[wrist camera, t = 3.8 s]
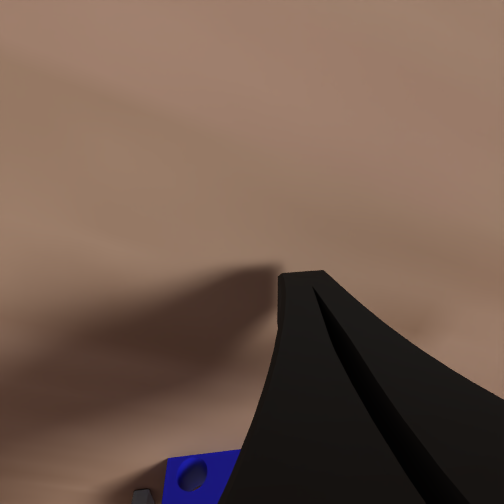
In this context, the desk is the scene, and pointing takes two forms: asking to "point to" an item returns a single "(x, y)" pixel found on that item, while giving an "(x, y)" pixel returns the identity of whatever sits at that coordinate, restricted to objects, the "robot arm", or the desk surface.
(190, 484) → the cable clip
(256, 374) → the desk surface
